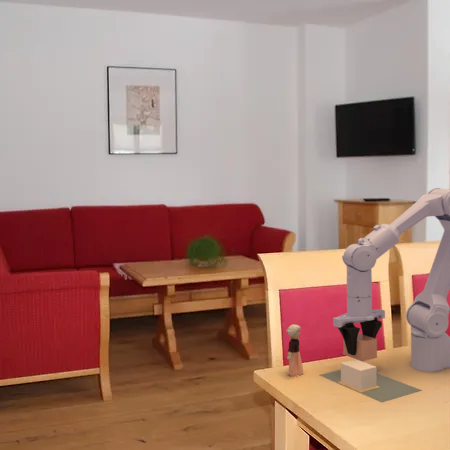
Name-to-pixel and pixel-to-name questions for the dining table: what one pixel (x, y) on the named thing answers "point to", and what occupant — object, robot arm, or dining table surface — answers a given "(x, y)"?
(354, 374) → the cream brick
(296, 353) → the grandmother figurine
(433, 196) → the robot arm
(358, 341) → the terracotta brick
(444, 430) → the dining table surface
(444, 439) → the dining table surface
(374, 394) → the baseplate
